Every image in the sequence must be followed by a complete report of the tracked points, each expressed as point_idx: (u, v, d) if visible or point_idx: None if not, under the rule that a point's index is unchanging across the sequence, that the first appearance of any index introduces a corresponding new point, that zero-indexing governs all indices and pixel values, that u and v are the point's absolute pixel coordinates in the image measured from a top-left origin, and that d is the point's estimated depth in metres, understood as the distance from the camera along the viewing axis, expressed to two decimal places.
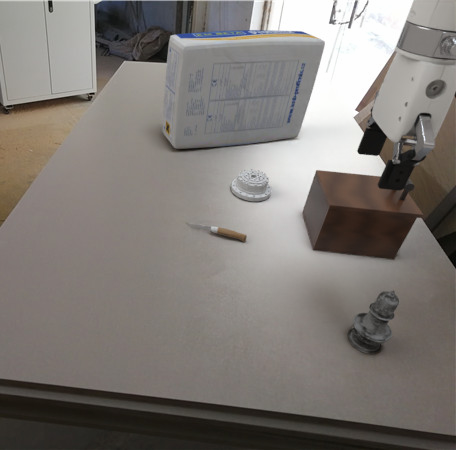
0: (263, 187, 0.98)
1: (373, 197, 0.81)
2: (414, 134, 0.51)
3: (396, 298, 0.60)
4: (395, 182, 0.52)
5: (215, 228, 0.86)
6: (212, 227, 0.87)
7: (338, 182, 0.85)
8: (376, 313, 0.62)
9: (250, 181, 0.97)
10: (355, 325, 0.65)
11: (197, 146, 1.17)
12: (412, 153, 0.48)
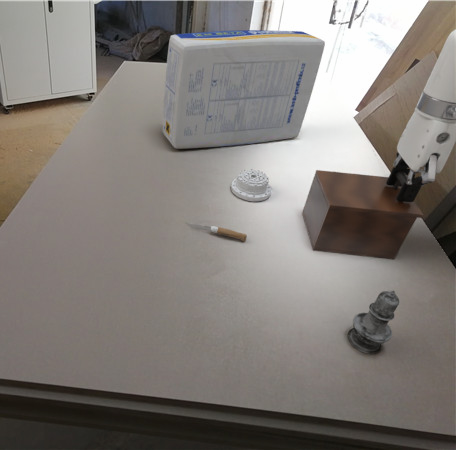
0: (263, 187, 0.98)
1: (373, 197, 0.81)
2: None
3: (396, 298, 0.60)
4: (408, 197, 0.78)
5: (215, 228, 0.86)
6: (212, 227, 0.87)
7: (338, 182, 0.85)
8: (376, 313, 0.62)
9: (250, 181, 0.97)
10: (355, 325, 0.65)
11: (197, 146, 1.17)
12: (420, 179, 0.74)
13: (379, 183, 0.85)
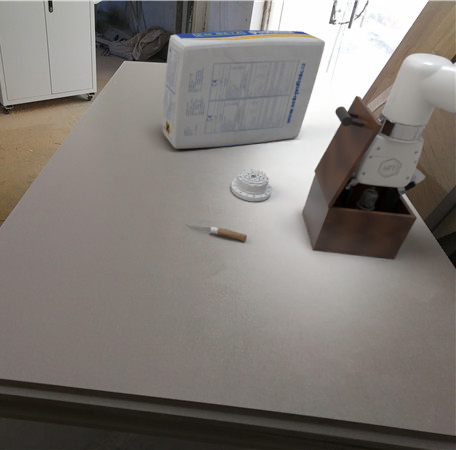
0: (263, 187, 0.98)
1: (347, 154, 0.76)
2: None
3: (375, 192, 0.82)
4: (340, 195, 0.84)
5: (215, 229, 0.86)
6: (212, 228, 0.86)
7: (326, 166, 0.83)
8: (361, 206, 0.84)
9: (250, 181, 0.97)
10: None
11: (197, 146, 1.17)
12: None
13: (347, 125, 0.79)
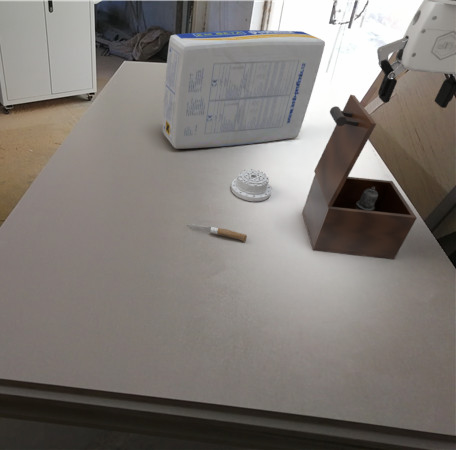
0: (263, 187, 0.98)
1: (343, 153, 0.76)
2: None
3: (375, 192, 0.82)
4: (380, 90, 0.71)
5: (215, 229, 0.86)
6: (212, 228, 0.86)
7: (325, 166, 0.83)
8: (361, 206, 0.84)
9: (250, 181, 0.97)
10: None
11: (197, 146, 1.17)
12: None
13: (343, 124, 0.79)
